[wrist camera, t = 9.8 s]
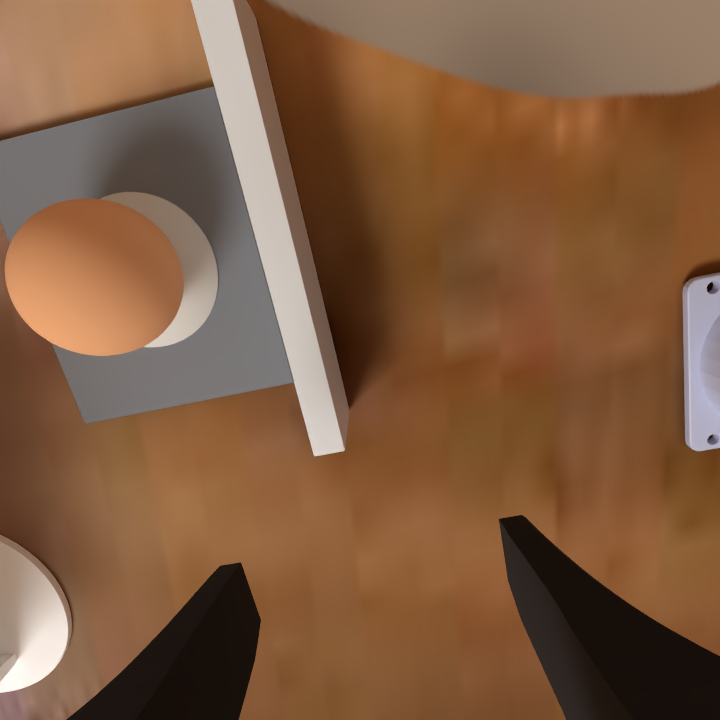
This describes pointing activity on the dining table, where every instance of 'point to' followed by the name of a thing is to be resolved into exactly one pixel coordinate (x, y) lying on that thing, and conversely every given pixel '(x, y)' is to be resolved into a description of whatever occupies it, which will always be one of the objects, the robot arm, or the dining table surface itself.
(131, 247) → the ball
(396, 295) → the dining table surface
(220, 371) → the mat
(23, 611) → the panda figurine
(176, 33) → the dining table surface
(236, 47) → the fence
